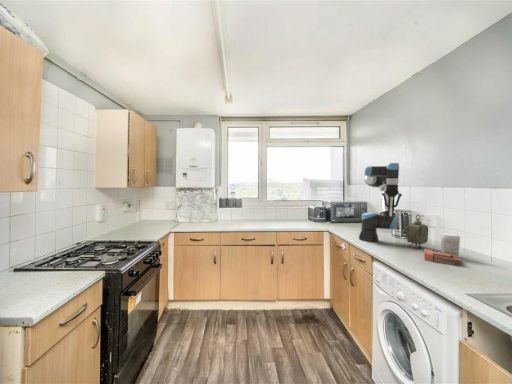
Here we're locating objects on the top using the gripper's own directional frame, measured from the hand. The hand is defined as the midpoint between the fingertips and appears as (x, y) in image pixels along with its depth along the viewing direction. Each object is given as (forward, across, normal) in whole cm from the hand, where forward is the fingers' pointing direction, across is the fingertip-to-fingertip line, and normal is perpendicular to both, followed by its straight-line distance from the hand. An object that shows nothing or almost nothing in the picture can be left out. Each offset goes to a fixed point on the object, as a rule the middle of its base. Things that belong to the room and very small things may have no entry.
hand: (390, 215), depth 168 cm
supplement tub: (+25, +35, +2) cm, 43 cm away
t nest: (+24, +31, -11) cm, 41 cm away
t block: (+24, +27, -11) cm, 38 cm away
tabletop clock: (+25, +18, +14) cm, 34 cm away
